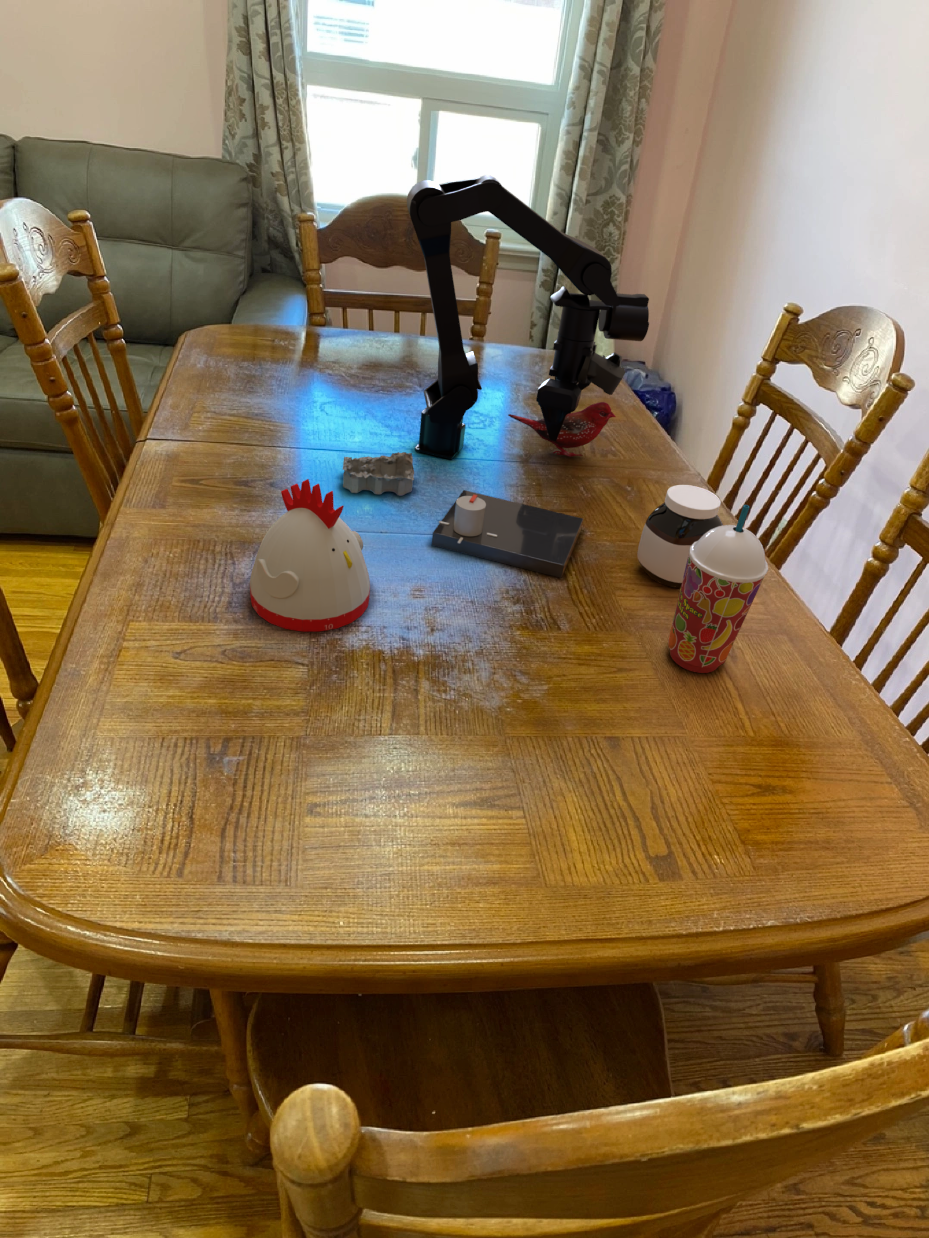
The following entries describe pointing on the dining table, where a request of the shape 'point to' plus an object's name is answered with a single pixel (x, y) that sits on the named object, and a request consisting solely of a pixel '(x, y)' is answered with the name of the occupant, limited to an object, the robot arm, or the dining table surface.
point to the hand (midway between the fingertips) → (558, 430)
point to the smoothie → (716, 595)
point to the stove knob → (469, 515)
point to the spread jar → (676, 532)
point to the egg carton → (379, 473)
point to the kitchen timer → (310, 566)
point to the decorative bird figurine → (574, 427)
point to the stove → (515, 536)
